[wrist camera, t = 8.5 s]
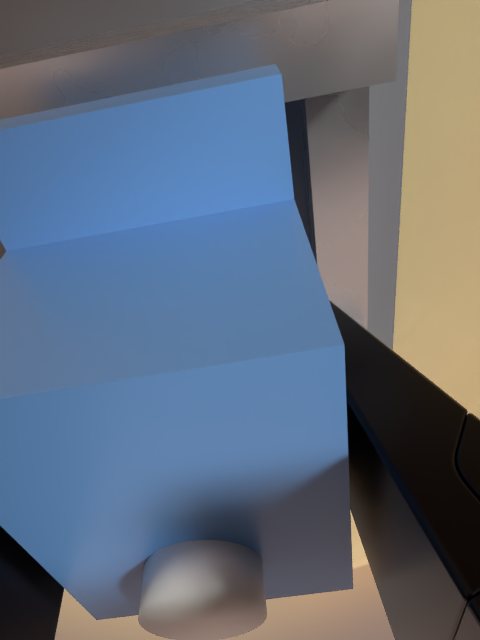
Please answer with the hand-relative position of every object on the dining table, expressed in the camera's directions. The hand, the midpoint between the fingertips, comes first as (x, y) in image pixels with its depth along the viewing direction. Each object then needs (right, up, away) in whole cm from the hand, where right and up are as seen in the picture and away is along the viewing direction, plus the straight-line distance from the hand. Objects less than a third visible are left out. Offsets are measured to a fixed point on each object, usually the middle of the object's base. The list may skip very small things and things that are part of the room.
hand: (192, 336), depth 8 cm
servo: (0, +2, +2) cm, 2 cm away
